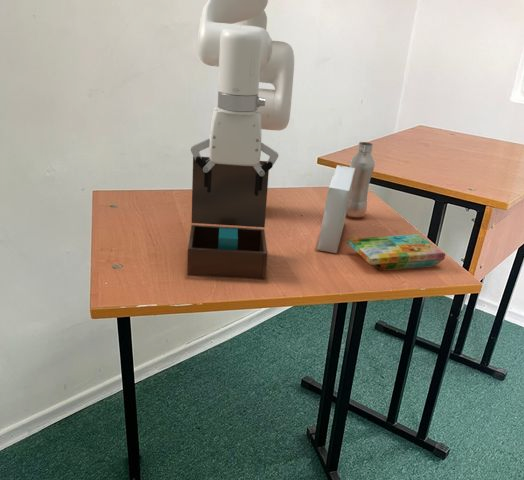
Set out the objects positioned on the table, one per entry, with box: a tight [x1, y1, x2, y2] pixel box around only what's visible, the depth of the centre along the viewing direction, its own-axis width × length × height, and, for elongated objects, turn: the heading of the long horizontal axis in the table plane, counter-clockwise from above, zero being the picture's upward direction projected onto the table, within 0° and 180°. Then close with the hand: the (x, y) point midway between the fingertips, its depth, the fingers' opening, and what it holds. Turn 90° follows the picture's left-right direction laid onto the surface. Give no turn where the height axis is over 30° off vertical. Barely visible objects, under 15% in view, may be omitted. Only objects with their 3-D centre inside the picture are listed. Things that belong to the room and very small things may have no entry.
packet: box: [218, 228, 238, 250], centre depth 127 cm, size 6×4×8 cm
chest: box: [187, 224, 268, 280], centre depth 130 cm, size 14×17×7 cm
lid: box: [190, 155, 270, 228], centre depth 132 cm, size 14×17×5 cm
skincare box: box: [316, 164, 355, 254], centre depth 147 cm, size 21×6×16 cm, turn 168°
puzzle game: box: [346, 233, 447, 271], centre depth 141 cm, size 12×5×20 cm
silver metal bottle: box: [346, 141, 376, 218], centre depth 161 cm, size 6×7×20 cm
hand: (232, 192), depth 120 cm, fingers open, 9 cm apart
